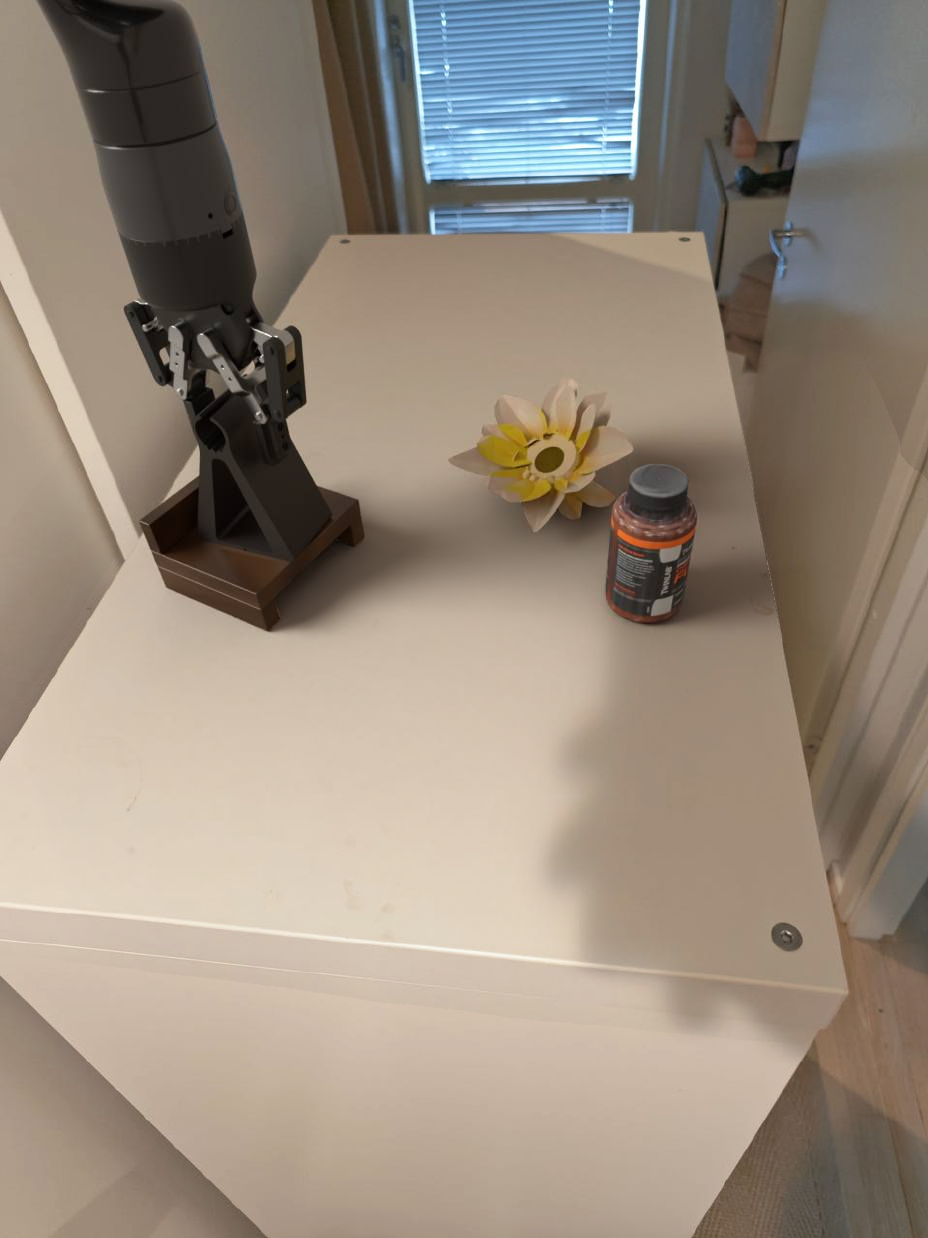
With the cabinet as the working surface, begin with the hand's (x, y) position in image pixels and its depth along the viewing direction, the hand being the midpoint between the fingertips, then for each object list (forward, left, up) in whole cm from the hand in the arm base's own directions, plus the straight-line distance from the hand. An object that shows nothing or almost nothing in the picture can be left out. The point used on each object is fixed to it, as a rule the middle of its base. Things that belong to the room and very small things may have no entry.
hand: (244, 448), depth 63 cm
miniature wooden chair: (0, +1, -12) cm, 12 cm away
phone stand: (0, 0, -8) cm, 8 cm away
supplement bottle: (+10, -28, -12) cm, 32 cm away
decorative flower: (+19, -14, -12) cm, 27 cm away
